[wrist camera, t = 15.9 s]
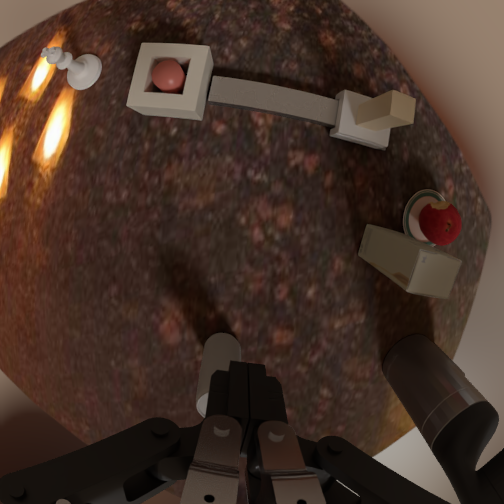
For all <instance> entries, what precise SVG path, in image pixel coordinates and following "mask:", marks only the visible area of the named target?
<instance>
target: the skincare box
mask: <svg viewBox="0 0 504 504" xmlns="http://www.w3.org/2000/svg"><path fill="white" fill-rule="evenodd" d="M358 256H360V257H361V258H362V259H364V260H365V261H367V262H368V263H369V264H371V265H372V266H373V267H375V268H376V269H377V270H379V271H380V272H382V273H383V274H384V275H386V276H387V277H388V278H390V279H391V280H392V281H394V282H395V283H396V284H398V285H399V286H400V287H401V288H403V289H404V290H405V291H406V292H409V293H413V294H417V295H422V296H428V297H435V298H443V299H448V298H449V295H450V292H451V290H452V287H453V285H454V282H455V280H456V277H457V274H458V271H459V268H460V266H461V260H459V259H457V258H455V257H453V256H451V255H449V254H447V253H445V252H443V251H441V250H438V249H436V248H434V247H432V246H430V245H428V244H425V243H423V242H421V241H419V240H417V239H414V238H412V237H410V236H408V235H405V234H403V233H400V232H397V231H394V230H390V229H387V228H383V227H379V226H375V225H371V224H367V225H366V228H365V232H364V235H363V238H362V242H361V245H360V249H359V253H358Z"/></svg>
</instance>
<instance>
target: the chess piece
mask: <svg viewBox="0 0 504 504" xmlns="http://www.w3.org/2000/svg"><path fill="white" fill-rule="evenodd" d="M45 56H47V62H48V63H49V64H55V63H56V65H57V67H58V68H59V69H65V68H68V69H69V70H68V73H67V80H68V83H69V84H70V86H72V87H73V88H74V89H77V90H83V89H86V88H88V87H90V86H91V85H93V84H94V83H95V82H96V80H97V79H98V77H99V75H100V73H101V69H102V65H101V61H100V59H99V58H98V57H97V56H95V55H92V54H85V55H82V56H80V57H78V58H77V59H76V60H72V54H71V53H69V52H65V53H63V51H62V49H61V48H60V47H52V48H50V49H48V48H44V49H43V53H41V57H43V58H44V57H45Z"/></svg>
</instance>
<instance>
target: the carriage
mask: <svg viewBox="0 0 504 504" xmlns="http://www.w3.org/2000/svg"><path fill="white" fill-rule="evenodd" d="M335 100H338V101H339V107H338V113H337V119H336V126H335V128H333V129H330V135H329V136H332V137H335V138H339V139H343V140H347V141H350V142H354V143H358V144H361V145H364V146H368V147H371V148H375V149H378V148H383V147H388V142H389V135H390V128H393V127H398V126H403V125H409V124H413V121H414V112H415V102H416V99H415V98H412V97H410V96H408V95H405V94H403V93H400V92H398V91H395V90H391V91H389V92H386V93H384V94H382V95H379V96H377V97H375V98H370V97H367V96H364V95H361V94H358V93H355V92H352V91H349V90H343V91H341V92H339V93H338V94H336V97H335Z"/></svg>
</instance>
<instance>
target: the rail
mask: <svg viewBox="0 0 504 504" xmlns="http://www.w3.org/2000/svg"><path fill="white" fill-rule="evenodd" d="M208 102H209V104H210V105H218V106H225V107H232V108H238V109H245V110H251V111H256V112H262V113H267V114H273V115H278V116H283V117H287V118H292V119H297V120H301V121H306V122H310V123H314V124H318V125H322V126H326V127H330V128H335V126H336V119H337V113H338V107H339V101H338V100H335V99H331V98H327V97H323V96H320V95H316V94H312V93H308V92H303V91H299V90H295V89H290V88H285V87H281V86H276V85H271V84H265V83H260V82H254V81H248V80H242V79H235V78H228V77H220V76H213V79H212V84H211V89H210V93H209V98H208ZM378 149H379V150H382V151H385V150H386V147H383V148H378Z"/></svg>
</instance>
